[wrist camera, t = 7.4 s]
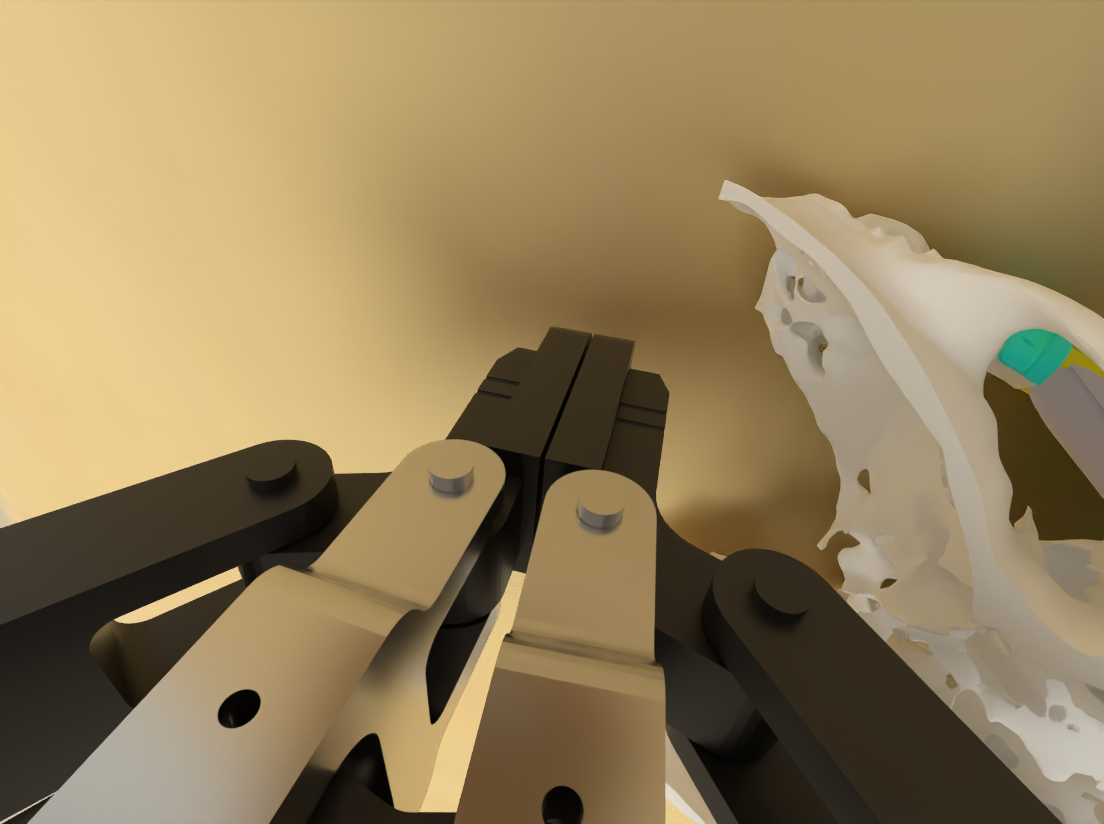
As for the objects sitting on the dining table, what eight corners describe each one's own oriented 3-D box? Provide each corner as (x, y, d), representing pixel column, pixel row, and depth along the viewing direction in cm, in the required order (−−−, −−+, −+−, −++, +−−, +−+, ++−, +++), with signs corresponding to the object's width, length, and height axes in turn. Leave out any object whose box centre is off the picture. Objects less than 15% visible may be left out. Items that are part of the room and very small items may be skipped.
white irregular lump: (1080, 831, 13) (834, 1159, 9) (797, 553, 19) (556, 662, 14) (1856, 459, 6) (2711, 1125, 2) (1042, 192, 12) (725, 178, 7)
